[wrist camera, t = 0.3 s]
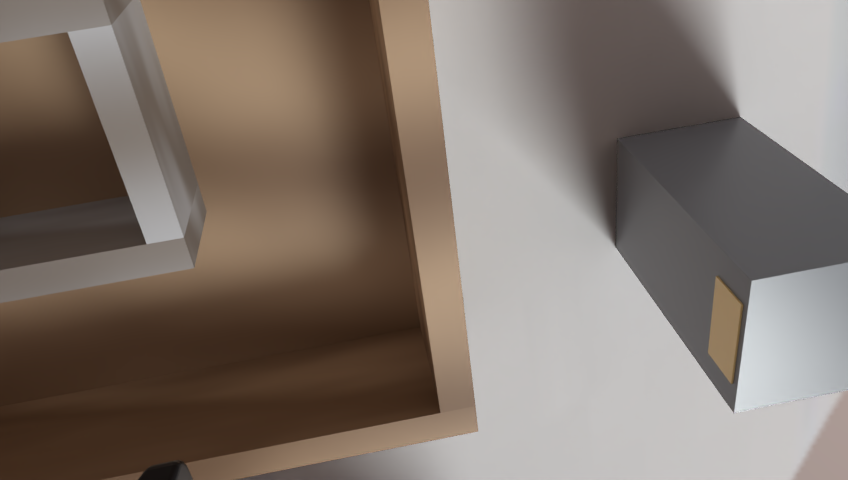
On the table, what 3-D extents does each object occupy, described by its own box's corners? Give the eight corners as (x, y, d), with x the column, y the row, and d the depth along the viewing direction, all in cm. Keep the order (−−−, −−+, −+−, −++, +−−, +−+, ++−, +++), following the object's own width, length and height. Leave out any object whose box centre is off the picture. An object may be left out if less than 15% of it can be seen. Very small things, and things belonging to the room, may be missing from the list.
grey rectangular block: (730, 225, 25) (888, 381, 19) (614, 247, 25) (732, 413, 18) (742, 116, 23) (926, 247, 16) (616, 139, 23) (749, 281, 16)
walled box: (448, 327, 26) (477, 431, 22) (-84, 427, 25) (-163, 558, 20) (377, -208, 17) (403, -210, 13) (-431, -92, 16) (-688, -55, 12)
